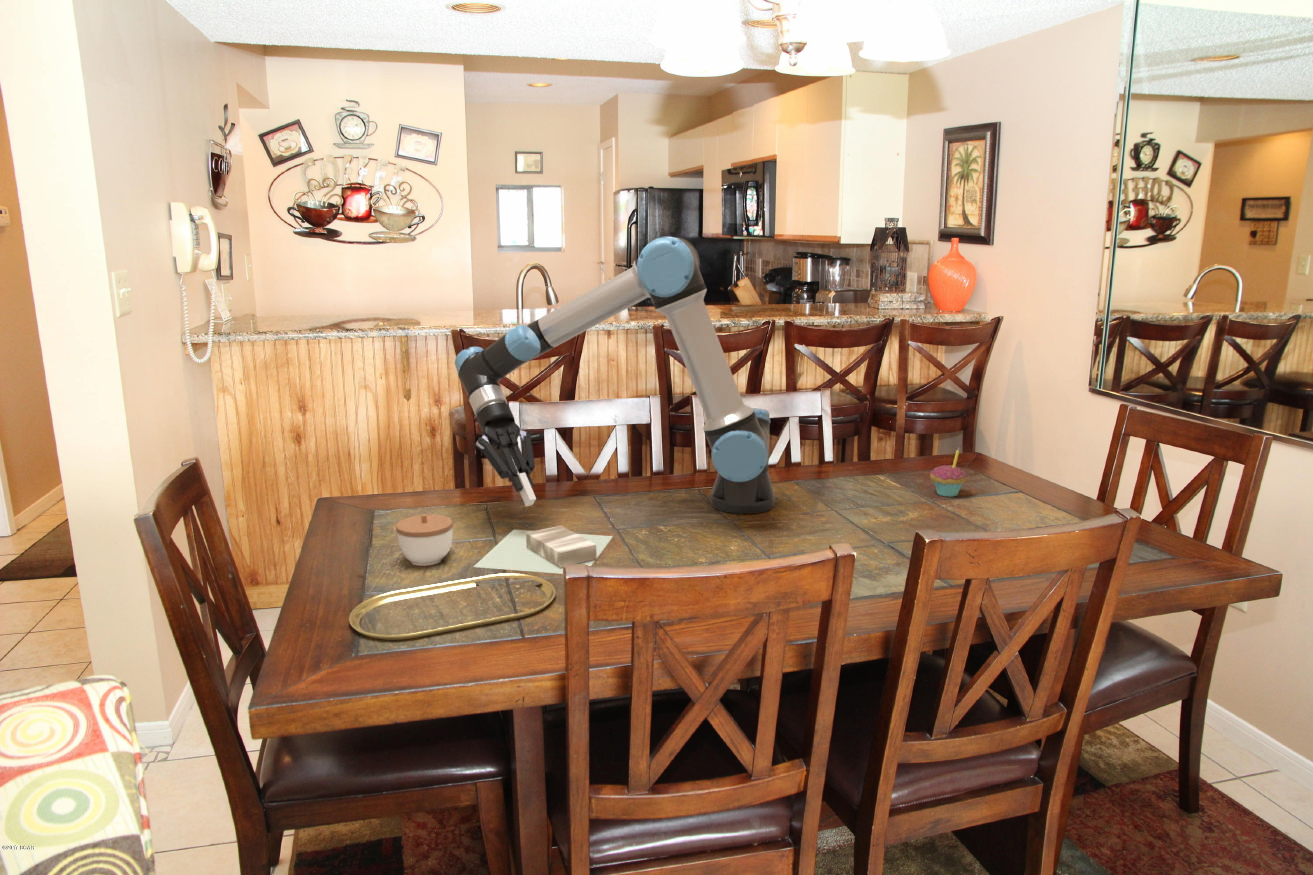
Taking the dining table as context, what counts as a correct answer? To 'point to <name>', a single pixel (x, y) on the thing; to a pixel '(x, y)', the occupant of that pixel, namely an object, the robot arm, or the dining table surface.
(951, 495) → the cupcake
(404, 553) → the lidded jar
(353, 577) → the dining table surface
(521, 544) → the mat
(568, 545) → the domino
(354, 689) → the dining table surface
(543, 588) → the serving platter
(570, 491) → the dining table surface
